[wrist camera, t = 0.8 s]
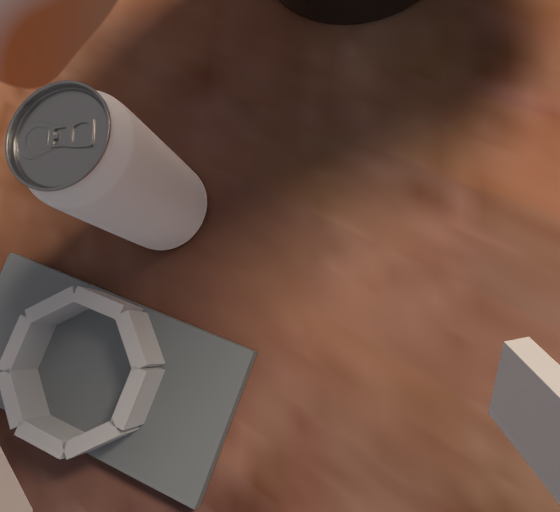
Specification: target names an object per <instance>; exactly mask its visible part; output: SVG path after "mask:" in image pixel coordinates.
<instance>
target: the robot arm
mask: <svg viewBox="0 0 560 512" xmlns="http://www.w3.org/2000/svg"><path fill="white" fill-rule="evenodd" d="M280 1H281V2H282V3H283V4H284V5H286V6H287V7H288V8H290V9H291V10H293V11H295V12H296V13H298V14H300V15H302V16H305V17H307V18H310V19H313V20H317V21H321V22H326V23H334V24H355V23H363V22H369V21H373V20H377V19H381V18H384V17H387V16H389V15H392V14H395V13H397V12H399V11H401V10H403V9H405V8H407V7H409V6H410V5H412V4H414V3H415V2H417V1H418V0H280ZM488 413H489V415H490V416H491V417H492V418H493V420H494V421H495V422H496V423H497V425H498V426H499V427H500V429H501V430H502V431H503V432H504V434H505V435H506V436H507V438H508V439H509V440H510V441H511V443H512V444H513V445H514V447H515V448H516V449H517V450H518V452H519V453H520V454H521V456H522V457H523V458H524V459H525V461H526V462H527V463H528V465H529V466H530V467H531V468H532V470H533V471H534V472H535V474H536V475H537V476H538V477H539V479H540V480H541V481H542V483H543V484H544V485H545V486H546V488H547V489H548V490H549V492H550V493H551V494H552V495H553V497H554V498H555V499H556V501H557V502H558V503H559V504H560V365H559V364H558V363H557V362H556V361H554V360H553V359H552V358H551V357H550V356H549V355H548V354H547V353H546V352H545V351H544V350H543V349H541V348H540V347H539V346H538V345H537V344H536V343H535V342H534V341H533V340H532V339H531V338H530V337H526V338H521V339H515V340H510V341H505V342H504V344H503V348H502V353H501V357H500V362H499V366H498V371H497V375H496V380H495V384H494V389H493V393H492V398H491V402H490V407H489V411H488ZM0 512H33V509H32V507H31V505H30V504H29V502H28V500H27V498H26V496H25V494H24V492H23V490H22V488H21V486H20V484H19V482H18V480H17V478H16V476H15V474H14V472H13V470H12V468H11V466H10V465H9V463H8V461H7V459H6V457H5V455H4V453H3V451H2V449H1V447H0Z"/></svg>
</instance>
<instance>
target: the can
mask: <svg viewBox="0 0 560 512" xmlns="http://www.w3.org/2000/svg"><path fill="white" fill-rule="evenodd" d="M5 154H6V159H7V163H8V165H9V168H10V170H11V171H12V173H13V174H14V176H15V177H16V178H17V179H18V180H19V181H20V182H21V183H22V184H24V185H25V186H27V187H28V188H29V189H30V191H31V192H32V193H33V194H34V195H35V196H36V197H37V198H38V199H40V200H41V201H42V202H44V203H46V204H47V205H49V206H51V207H53V208H55V209H57V210H60V211H62V212H64V213H66V214H69V215H71V216H73V217H75V218H78V219H80V220H82V221H84V222H87V223H89V224H91V225H94V226H96V227H98V228H101V229H103V230H105V231H107V232H110V233H112V234H114V235H117V236H119V237H121V238H124V239H126V240H128V241H131V242H133V243H136V244H138V245H140V246H143V247H146V248H148V249H152V250H169V249H173V248H176V247H178V246H180V245H182V244H184V243H185V242H187V241H188V240H189V239H191V238H192V237H193V236H194V235H195V233H196V232H197V231H198V230H199V228H200V226H201V225H202V223H203V220H204V218H205V215H206V211H207V194H206V190H205V187H204V185H203V183H202V181H201V180H200V178H199V177H198V176H197V175H196V174H195V172H194V171H193V170H192V169H191V168H190V167H189V166H188V165H187V164H185V163H184V162H183V161H182V160H181V159H180V158H179V157H178V156H177V155H176V154H175V153H174V152H173V151H172V150H171V149H170V148H169V147H168V146H167V145H166V144H165V143H164V142H163V141H162V140H161V139H159V138H158V137H157V136H156V135H155V134H154V133H153V132H152V131H151V130H150V129H149V128H148V127H147V126H146V125H145V124H144V123H143V122H142V121H141V120H140V119H138V118H137V117H136V116H135V115H134V114H133V113H132V112H131V111H130V110H129V109H128V108H127V107H125V106H124V105H123V104H122V103H121V102H120V101H118V100H117V99H116V98H114V97H113V96H111V95H109V94H107V93H104V92H101V91H97V90H95V89H94V88H92V87H91V86H89V85H87V84H84V83H82V82H78V81H58V82H54V83H51V84H48V85H46V86H44V87H42V88H40V89H38V90H37V91H35V92H34V93H33V94H31V95H30V96H29V97H28V98H27V99H26V100H25V101H24V102H23V103H22V104H21V105H20V107H19V108H18V109H17V111H16V112H15V114H14V116H13V118H12V120H11V122H10V124H9V127H8V130H7V134H6V140H5Z"/></svg>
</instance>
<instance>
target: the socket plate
mask: <svg viewBox="0 0 560 512" xmlns="http://www.w3.org/2000/svg"><path fill="white" fill-rule="evenodd" d="M256 355H257V351H255V350H252V349H250V348H247V347H245V346H242V345H240V344H237V343H235V342H233V341H230V340H228V339H225V338H223V337H220V336H218V335H215V334H213V333H210V332H208V331H206V330H203V329H201V328H198V327H196V326H193V325H191V324H188V323H186V322H183V321H181V320H179V319H176V318H174V317H171V316H169V315H166V314H164V313H161V312H159V311H156V310H154V309H152V308H149V307H147V306H144V305H142V304H139V303H137V302H134V301H132V300H130V299H127V298H125V297H122V296H120V295H117V294H115V293H112V292H110V291H107V290H105V289H103V288H100V287H98V286H95V285H93V284H90V283H88V282H85V281H83V280H80V279H78V278H76V277H73V276H71V275H68V274H66V273H63V272H61V271H58V270H56V269H53V268H51V267H49V266H46V265H44V264H41V263H39V262H36V261H34V260H31V259H29V258H26V257H24V256H22V255H18V254H15V253H11V252H10V254H9V256H8V258H7V260H6V263H5V265H4V267H3V269H2V271H1V274H0V408H1V409H3V410H5V411H6V415H7V419H8V423H9V427H10V429H15V428H17V429H16V431H15V433H14V435H15V436H17V437H19V438H21V439H23V440H25V441H26V442H28V443H30V444H32V445H34V446H36V447H38V448H39V449H41V450H43V451H45V452H47V453H49V454H50V455H52V456H54V457H56V458H58V459H60V460H61V459H63V458H66V460H67V459H70V458H73V457H76V456H79V455H81V454H84V453H87V454H89V455H91V456H93V457H95V458H97V459H98V460H100V461H102V462H104V463H106V464H108V465H110V466H112V467H114V468H116V469H118V470H119V471H121V472H123V473H125V474H127V475H129V476H131V477H133V478H135V479H137V480H138V481H140V482H142V483H144V484H146V485H148V486H150V487H152V488H154V489H156V490H157V491H159V492H161V493H163V494H165V495H167V496H169V497H171V498H173V499H175V500H176V501H178V502H180V503H182V504H184V505H186V506H188V507H190V508H192V509H194V510H195V509H196V508H197V507H198V506H200V505H201V502H202V499H203V497H204V494H205V491H206V489H207V486H208V483H209V481H210V478H211V475H212V473H213V470H214V467H215V465H216V462H217V459H218V457H219V454H220V451H221V449H222V446H223V443H224V441H225V438H226V435H227V433H228V430H229V427H230V425H231V422H232V419H233V417H234V414H235V411H236V409H237V406H238V403H239V401H240V398H241V395H242V393H243V390H244V387H245V385H246V382H247V379H248V377H249V374H250V371H251V368H252V366H253V363H254V360H255V358H256Z"/></svg>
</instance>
